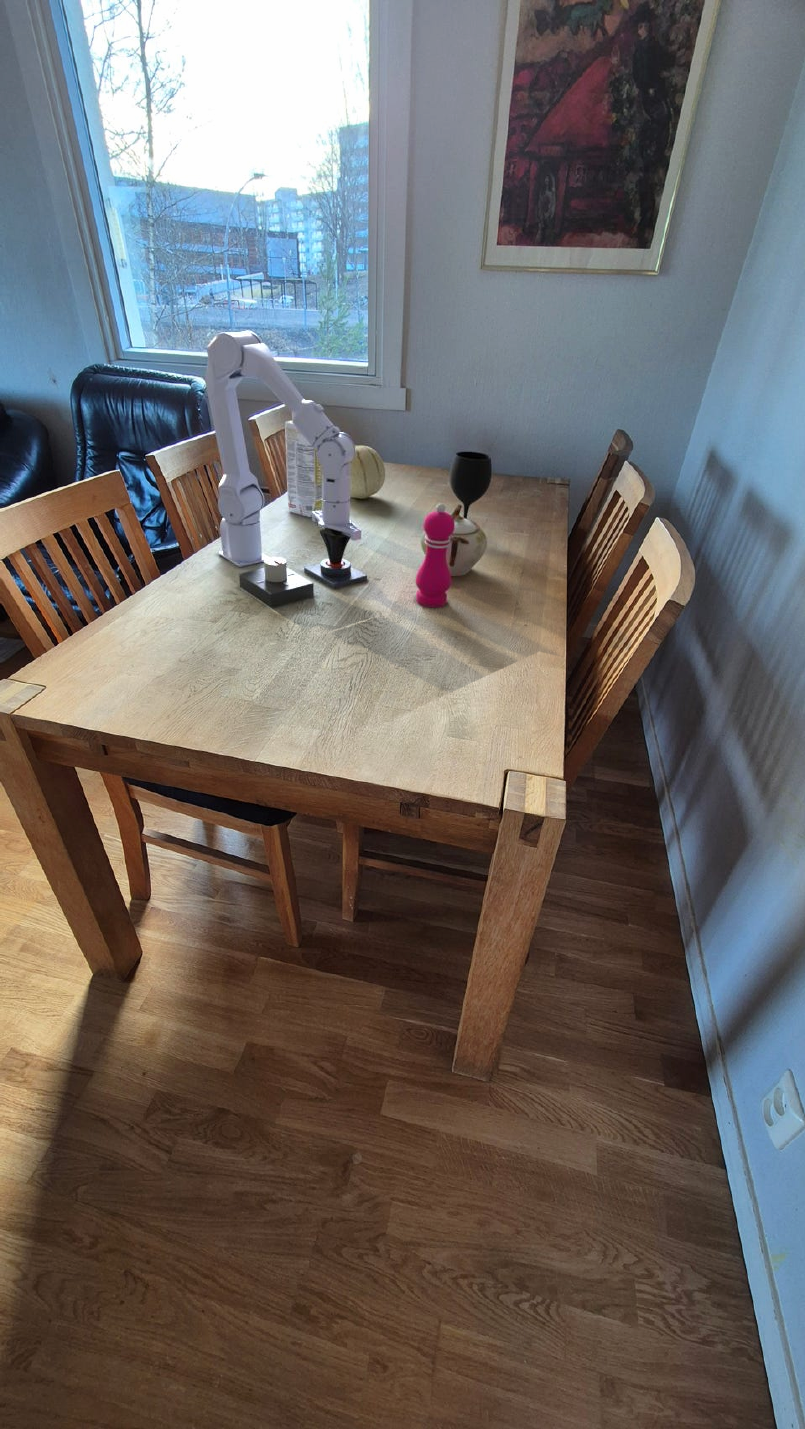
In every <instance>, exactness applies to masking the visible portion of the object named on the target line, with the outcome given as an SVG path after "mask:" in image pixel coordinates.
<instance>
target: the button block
mask: <svg viewBox="0 0 805 1429" xmlns="http://www.w3.org/2000/svg"><path fill="white" fill-rule="evenodd" d="M328 561H330V560H329V557H328V558H324V559H322V560H321V561H320V563H316V564H311V565H308V566H304V567H303V572H304V573H305V574H306V575H308V576H310V577H312V578H314V579H316V580H317V581H319V582H320V583H322V584H324V585H325V586H327V587H330V588H331V589H333V590H337V589H341V588H344V587H347V586H351V585H356V584H358V583H361V582H365V581H367V580H368V574H365V573H364V572H362V571H360V570H359V569H356V568H354V567H353V566H352V564H351V562H350V560H348V559H346V558H342V561H343V562H344V566H342V567H331V566H328V565H327V562H328Z"/></svg>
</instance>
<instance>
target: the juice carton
mask: <svg viewBox="0 0 805 1429" xmlns="http://www.w3.org/2000/svg"><path fill="white" fill-rule="evenodd" d="M284 425H285V426H284V428H285V429H284V431H285V432H284V435H285V436H284V437H285V439H284V440H285V464H286V489H287V506H288V511H289V512H290V513H293V514H297V515H300V516H304V517H307V518H312V512H314V511H322V467H321V465H320V463H319V462H318V460H317V456H316V452H317V451H316V450H315V449H314V448H313V446H312V445H311V444H310V443H309V442H308V441H307V439H306V438H305V437H304V436H303V435H302V434H301V432H300V431H299V430H298V429H297V428H296V426H295V425H294V424H293V422H292V420H287V421H285V424H284Z"/></svg>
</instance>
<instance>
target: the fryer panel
mask: <svg viewBox="0 0 805 1429" xmlns="http://www.w3.org/2000/svg"><path fill="white" fill-rule="evenodd" d="M238 578H239V587H240V589H242V590H243V591H245V592H246V593H248V594H250V595H251V596H252V597H253V598H255V599H257V600H258V601H260V602H261V603H262V604H264V605H266V606H267V607H269V608H270V609H273V608H277V607H281V606H284V605H288V604H291V603H294V602H298V601H302V600H306V599H310V598H313V597H315V595H314V593H315V592H314V591H315V590H314V587H315V586H314V582H312V581H311V580H309V579H308V578H306V577H304V576H302V575H301V574H299V573H297V572H295V571H294V570H292V569H291V568H289V567H287V579H286V580H285V581H282V582H270V581H267V580H266V579H265V571H264V567H262V568H258V569H253V570H248V571H245V572H241V573H238Z"/></svg>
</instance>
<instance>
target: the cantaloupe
mask: <svg viewBox="0 0 805 1429" xmlns="http://www.w3.org/2000/svg"><path fill="white" fill-rule="evenodd" d="M354 445H355V455H354V457H353V459H352V460H351V461H350V462H349V463H351V467H350V477H351V479H350V498H355V499H359V500H361V499H363V500H364V499H365V500H366V499H368V498H369V497H372V496H373V495H376V494H378V493H379V491H381V489H382V487H383V486H384V483H385V481H386V468H385V463H384V462H383V460H382V457H381V455H380V454H379V453H378V451H376V450H375V449H373V448H372V447H370V446H367V445H357V444H356V443H354ZM349 463H348V464H349ZM346 465H347V464H346Z"/></svg>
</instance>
